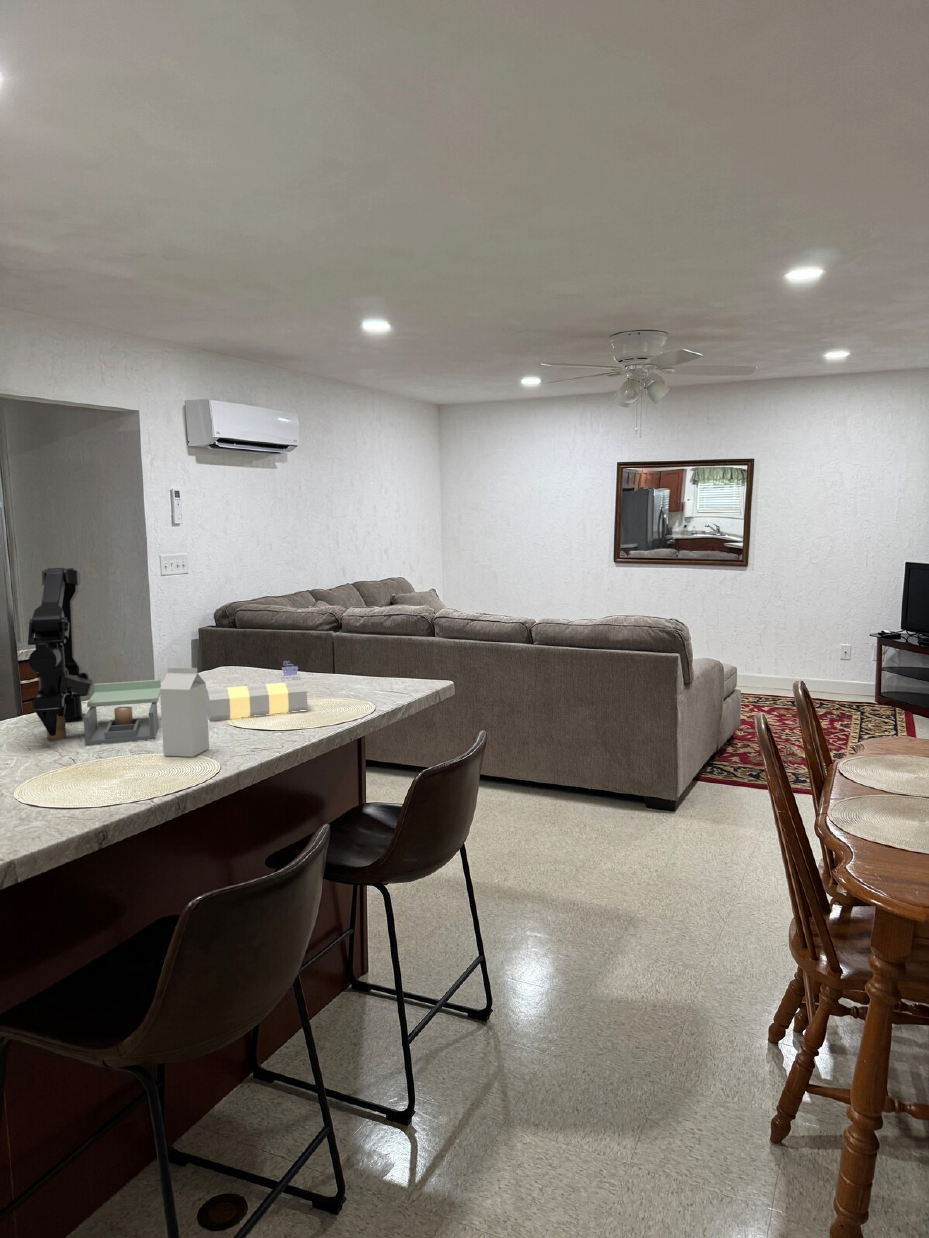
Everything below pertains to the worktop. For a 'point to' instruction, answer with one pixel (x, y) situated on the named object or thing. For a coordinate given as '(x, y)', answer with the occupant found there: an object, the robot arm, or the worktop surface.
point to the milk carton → (184, 713)
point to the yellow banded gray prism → (257, 698)
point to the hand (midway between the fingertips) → (56, 730)
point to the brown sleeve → (58, 730)
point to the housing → (120, 727)
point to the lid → (125, 693)
